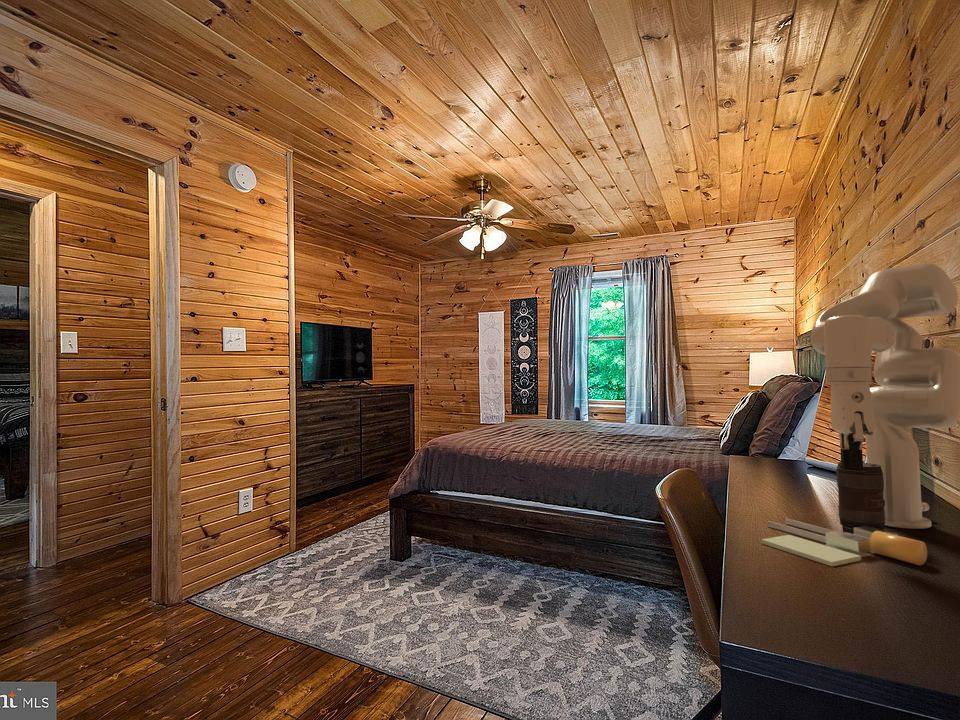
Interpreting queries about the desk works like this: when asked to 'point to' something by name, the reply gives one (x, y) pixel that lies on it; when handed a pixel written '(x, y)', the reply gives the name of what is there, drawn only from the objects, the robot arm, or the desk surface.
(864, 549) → the housing
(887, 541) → the plug
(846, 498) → the camera lens
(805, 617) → the desk surface
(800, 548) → the mat
